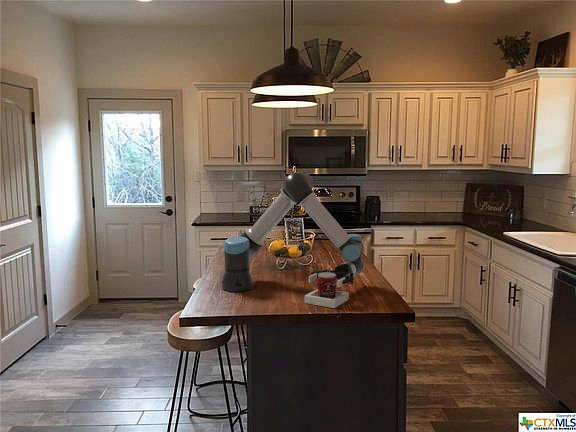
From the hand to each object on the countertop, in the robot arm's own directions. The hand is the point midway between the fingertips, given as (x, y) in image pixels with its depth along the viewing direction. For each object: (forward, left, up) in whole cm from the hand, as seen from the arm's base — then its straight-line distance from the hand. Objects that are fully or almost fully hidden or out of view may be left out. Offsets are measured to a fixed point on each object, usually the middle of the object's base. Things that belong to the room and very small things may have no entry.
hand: (323, 281), depth 196 cm
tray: (0, +3, -9) cm, 10 cm away
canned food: (0, +3, -9) cm, 9 cm away
